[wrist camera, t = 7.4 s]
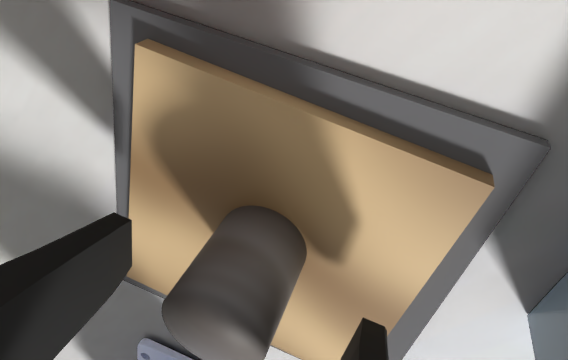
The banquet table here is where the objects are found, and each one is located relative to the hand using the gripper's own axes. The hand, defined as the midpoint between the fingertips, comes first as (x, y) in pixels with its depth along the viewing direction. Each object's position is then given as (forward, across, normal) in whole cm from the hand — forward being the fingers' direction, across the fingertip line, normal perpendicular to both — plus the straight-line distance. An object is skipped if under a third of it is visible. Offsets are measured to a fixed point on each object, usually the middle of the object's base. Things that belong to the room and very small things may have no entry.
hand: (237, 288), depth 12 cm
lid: (+3, 0, 0) cm, 3 cm away
